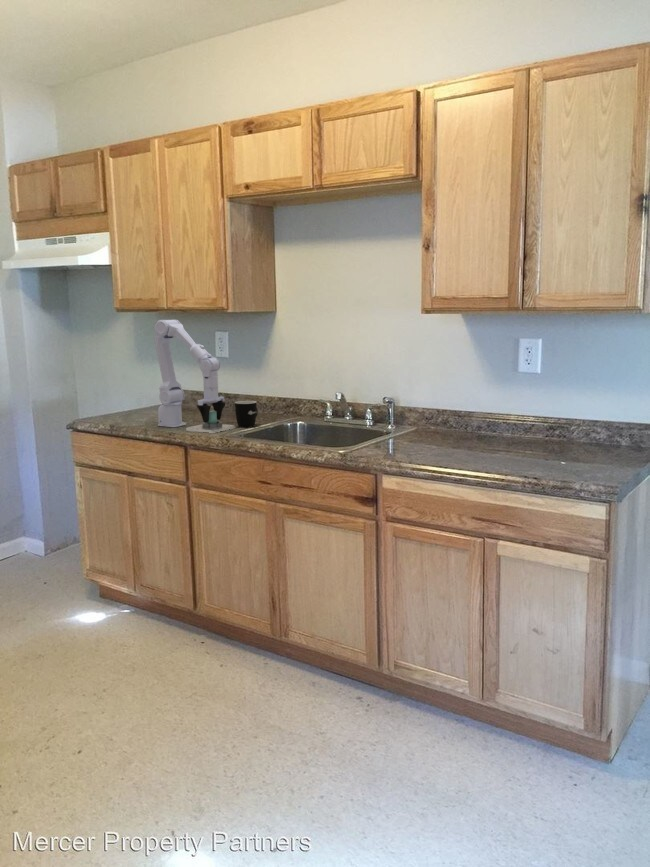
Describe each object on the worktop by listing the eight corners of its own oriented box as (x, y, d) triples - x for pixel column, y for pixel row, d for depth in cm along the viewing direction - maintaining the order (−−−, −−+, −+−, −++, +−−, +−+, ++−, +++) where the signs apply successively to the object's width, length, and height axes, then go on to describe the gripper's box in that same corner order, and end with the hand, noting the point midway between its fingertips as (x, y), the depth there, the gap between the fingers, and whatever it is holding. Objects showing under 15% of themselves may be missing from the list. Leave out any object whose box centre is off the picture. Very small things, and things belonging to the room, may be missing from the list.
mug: (248, 428, 295) (247, 404, 293) (231, 426, 300) (230, 402, 298) (265, 424, 305) (265, 400, 303) (248, 422, 310) (247, 399, 308)
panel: (186, 430, 291) (185, 424, 291) (208, 425, 303) (208, 419, 303) (213, 433, 284) (213, 426, 284) (234, 428, 296) (234, 421, 296)
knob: (211, 427, 291) (211, 411, 290) (203, 426, 294) (203, 411, 293) (219, 425, 295) (218, 410, 294) (211, 424, 297) (210, 409, 296)
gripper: (207, 389, 283) (208, 424, 286) (229, 386, 296) (230, 419, 298) (193, 389, 287) (194, 422, 289) (216, 385, 299) (217, 417, 302)
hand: (211, 420), depth 294 cm, fingers open, 7 cm apart
